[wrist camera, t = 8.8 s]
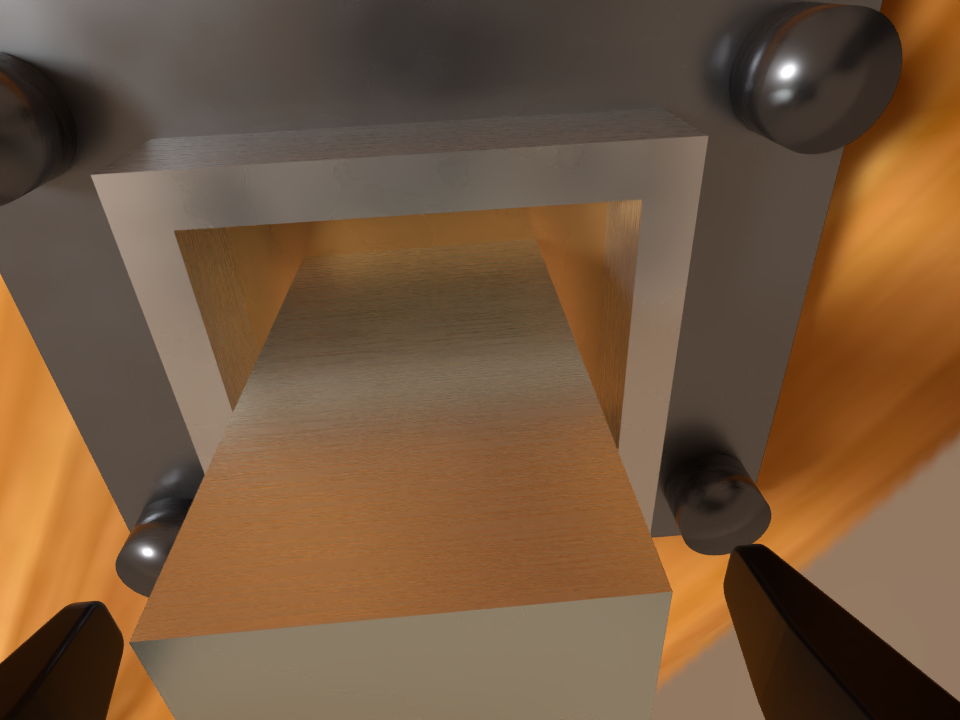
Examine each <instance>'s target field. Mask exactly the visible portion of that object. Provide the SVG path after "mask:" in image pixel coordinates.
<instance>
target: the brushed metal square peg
mask: <svg viewBox="0 0 960 720" xmlns="http://www.w3.org/2000/svg"><path fill="white" fill-rule="evenodd" d="M672 592H673V591H672V589H671V586H670V584H669V581H668V579H667V576H666V573H665V571H664V568H663V566H662V563H661V561H660V558H659V555H658V553H657V550H656V548H655V545H654V542H653V540H652V537H651V535H650V532H649V530H648V527H647V524H646V522H645V519H644V517H643V514H642V512H641V509H640V506H639V504H638V501H637V499H636V496H635V494H634V491H633V488H632V486H631V483H630V481H629V478H628V475H627V473H626V470H625V468H624V465H623V463H622V460H621V457H620V455H619V452H618V450H617V447H616V445H615V442H614V439H613V437H612V434H611V432H610V429H609V427H608V424H607V421H606V419H605V416H604V414H603V411H602V409H601V406H600V403H599V401H598V398H597V396H596V393H595V390H594V388H593V385H592V383H591V380H590V378H589V375H588V372H587V370H586V367H585V365H584V362H583V360H582V357H581V354H580V352H579V349H578V347H577V344H576V342H575V339H574V336H573V334H572V331H571V329H570V326H569V324H568V321H567V318H566V316H565V313H564V311H563V308H562V305H561V303H560V300H559V298H558V295H557V293H556V290H555V287H554V285H553V282H552V280H551V277H550V275H549V272H548V269H547V267H546V264H545V262H544V259H543V257H542V254H541V251H540V249H539V246H538V244H537V241H536V239H526V240H513V241H501V242H488V243H475V244H462V245H449V246H437V247H424V248H411V249H398V250H385V251H373V252H360V253H347V254H334V255H321V256H309V257H303V259H302V262H301V264H300V266H299V268H298V270H297V273H296V275H295V277H294V279H293V281H292V284H291V286H290V288H289V290H288V292H287V295H286V297H285V299H284V301H283V303H282V306H281V308H280V310H279V312H278V314H277V317H276V319H275V321H274V323H273V326H272V328H271V330H270V332H269V334H268V337H267V339H266V341H265V343H264V345H263V348H262V350H261V352H260V354H259V356H258V359H257V361H256V363H255V365H254V367H253V370H252V372H251V374H250V376H249V378H248V381H247V383H246V385H245V387H244V390H243V392H242V394H241V396H240V398H239V401H238V403H237V405H236V407H235V409H234V412H233V414H232V416H231V418H230V420H229V423H228V425H227V427H226V429H225V431H224V434H223V436H222V438H221V440H220V442H219V445H218V447H217V449H216V451H215V454H214V456H213V458H212V460H211V462H210V465H209V467H208V469H207V471H206V473H205V476H204V478H203V480H202V482H201V484H200V487H199V489H198V491H197V493H196V495H195V498H194V500H193V502H192V504H191V506H190V509H189V511H188V513H187V515H186V518H185V520H184V522H183V524H182V526H181V529H180V531H179V533H178V535H177V537H176V540H175V542H174V544H173V546H172V548H171V551H170V553H169V555H168V557H167V559H166V562H165V564H164V566H163V568H162V570H161V573H160V575H159V577H158V579H157V582H156V584H155V586H154V588H153V590H152V593H151V595H150V597H149V599H148V601H147V604H146V606H145V608H144V610H143V612H142V615H141V617H140V619H139V621H138V623H137V626H136V628H135V630H134V632H133V634H132V637H131V639H130V641H129V643H130V645H131V646H132V648H133V650H134V651H135V653H136V655H137V656H138V658H139V660H140V661H141V663H142V665H143V666H144V668H145V670H146V671H147V673H148V675H149V676H150V678H151V680H152V681H153V683H154V685H155V686H156V688H157V690H158V691H159V693H160V695H161V696H162V698H163V700H164V701H165V703H166V705H167V706H168V708H169V710H170V711H171V713H172V715H173V716H174V718H175V720H651V714H652V709H653V703H654V697H655V691H656V686H657V680H658V674H659V668H660V662H661V656H662V650H663V645H664V639H665V633H666V627H667V621H668V615H669V610H670V604H671V598H672Z"/></svg>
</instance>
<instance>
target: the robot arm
mask: <svg viewBox="0 0 960 720" xmlns="http://www.w3.org/2000/svg"><path fill="white" fill-rule="evenodd" d="M723 588H724V595H725V599H726V602H727V606H728V609H729V612H730V615H731V618H732V621H733V625H734V628H735V631H736V634H737V637H738V640H739V644H740V647H741V650H742V653H743V656H744V659H745V662H746V665H747V669H748V672H749V675H750V678H751V681H752V684H753V688H754V690H755V693H756V696H757V699H758V702H759V705H760V707H761V710H762V712H763V715H764V717H765V720H960V702H959V701H958V700H957V699H956V698H954V697H953V696H952V695H951V694H949V693H948V692H947V691H946V690H944V689H943V688H942V687H941V686H939V685H938V684H937V683H936V682H934V681H933V680H932V679H931V678H930V677H928V676H927V675H926V674H925V673H923V672H922V671H921V670H920V669H918V668H917V667H916V666H915V665H913V664H912V663H911V662H910V661H908V660H907V659H906V658H905V657H903V656H902V655H901V654H900V653H898V652H897V651H896V650H895V649H893V648H892V647H891V646H890V645H888V644H887V643H886V642H885V641H884V640H882V639H881V638H880V637H879V636H877V635H876V634H875V633H874V632H872V631H871V630H870V629H869V628H867V627H866V626H865V625H864V624H862V623H861V622H860V621H859V620H857V619H856V618H855V617H853V616H852V615H851V614H850V613H849V612H847V611H846V610H845V609H844V608H842V607H841V606H840V605H839V604H837V603H836V602H835V601H834V600H832V599H831V598H830V597H829V596H828V595H826V594H825V593H824V592H823V591H821V590H820V589H819V588H817V587H816V586H815V585H814V584H813V583H811V582H810V581H809V580H808V579H806V578H805V577H804V576H803V575H801V574H800V573H799V572H798V571H796V570H795V569H794V568H793V567H791V566H790V565H789V564H788V563H786V562H785V561H784V560H783V559H781V558H780V557H779V556H778V555H777V554H775V553H774V552H773V551H772V550H770V549H769V548H768V547H766V546H764V545H761V544H749V545H738V546H735V547H734V548H733V549H732V551H731V554H730V558H729V562H728V566H727V570H726V574H725V578H724V587H723ZM123 648H124V640H123V636H122V633H121V631H120V630H119V628H118V626H117V625H116V623H115V621H114V619H113V618H112V616H111V614H110V613H109V611H108V609H107V607H106V606H105V605H104V604H103V603H102V602H100V601H89V602H78V603H72V604H69V605H67V606H66V607H64V608H63V609H62V610H60V611H59V612H58V613H57V614H56V615H55V616H54V617H52V618H51V619H50V620H49V621H48V622H47V623H46V624H45V625H43V626H42V627H41V628H40V629H39V630H38V631H37V632H35V633H34V634H33V635H32V636H31V637H30V638H29V639H28V640H26V641H25V642H24V643H23V644H22V645H21V646H20V647H19V648H17V649H16V650H15V651H14V652H13V653H12V654H11V655H9V656H8V657H7V658H6V659H5V660H4V661H3V662H2V663H0V720H106V717H107V713H108V709H109V705H110V701H111V697H112V693H113V690H114V686H115V682H116V678H117V674H118V670H119V666H120V662H121V658H122V654H123Z"/></svg>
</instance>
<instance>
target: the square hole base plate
mask: <svg viewBox="0 0 960 720" xmlns="http://www.w3.org/2000/svg"><path fill="white" fill-rule="evenodd" d="M882 1H883V0H0V274H1V276H2V278H3V280H4V282H5V284H6V286H7V287H8V289H9V291H10V293H11V295H12V297H13V299H14V301H15V303H16V305H17V307H18V309H19V311H20V313H21V315H22V317H23V319H24V321H25V323H26V325H27V327H28V329H29V331H30V333H31V335H32V337H33V339H34V341H35V343H36V345H37V347H38V349H39V351H40V353H41V355H42V357H43V359H44V361H45V363H46V365H47V367H48V369H49V371H50V373H51V375H52V377H53V379H54V381H55V383H56V385H57V387H58V389H59V391H60V393H61V395H62V397H63V399H64V401H65V403H66V405H67V407H68V409H69V411H70V413H71V415H72V417H73V419H74V421H75V423H76V425H77V427H78V429H79V431H80V433H81V435H82V437H83V439H84V441H85V443H86V445H87V447H88V449H89V451H90V453H91V455H92V457H93V459H94V461H95V463H96V465H97V467H98V469H99V471H100V473H101V475H102V477H103V479H104V481H105V483H106V485H107V487H108V489H109V491H110V493H111V495H112V497H113V499H114V501H115V503H116V505H117V507H118V509H119V511H120V513H121V515H122V517H123V519H124V521H125V523H126V525H127V527H128V529H129V531H130V535H129V537H128V539H127V540H126V542H125V544H124V546H123V548H122V550H121V551H120V553H119V555H118V557H117V560H116V571H117V574H118V576H119V577H120V579H121V580H122V581H123V583H124V584H126V585H127V586H128V587H129V588H130V589H132V590H133V591H135V592H137V593H139V594H141V595H143V596H146V597H150V595H151V593H152V590H153V588H154V586H155V584H156V582H157V579H158V577H159V575H160V573H161V570H162V568H163V566H164V564H165V562H166V559H167V557H168V555H169V553H170V551H171V548H172V546H173V544H174V542H175V540H176V537H177V535H178V533H179V531H180V529H181V526H182V524H183V522H184V520H185V518H186V515H187V513H188V511H189V509H190V506H191V504H192V502H193V500H194V498H195V495H196V493H197V491H198V489H199V487H200V484H201V482H202V480H203V478H204V476H205V473H206V471H207V469H208V467H209V465H210V462H211V460H212V458H213V456H214V454H215V451H216V449H217V447H218V445H219V442H220V440H221V438H222V436H223V434H224V431H225V429H226V427H227V425H228V423H229V420H230V418H231V416H232V414H233V412H234V409H235V407H236V405H237V403H238V401H239V398H240V396H241V394H242V392H243V390H244V387H245V385H246V383H247V381H248V378H249V376H250V374H251V372H252V370H253V367H254V365H255V363H256V361H257V359H258V356H259V354H260V352H261V350H262V348H263V345H264V343H265V341H266V339H267V337H268V334H269V332H270V330H271V328H272V326H273V323H274V321H275V319H276V317H277V314H278V312H279V310H280V308H281V306H282V303H283V301H284V299H285V297H286V295H287V292H288V290H289V288H290V286H291V284H292V281H293V279H294V277H295V275H296V273H297V270H298V268H299V266H300V264H301V262H302V259H303V257H309V256H321V255H334V254H347V253H360V252H373V251H385V250H398V249H411V248H424V247H437V246H449V245H462V244H475V243H488V242H501V241H513V240H526V239H536V241H537V244H538V246H539V249H540V251H541V254H542V257H543V259H544V262H545V264H546V267H547V269H548V272H549V275H550V277H551V280H552V282H553V285H554V287H555V290H556V293H557V295H558V298H559V300H560V303H561V305H562V308H563V311H564V313H565V316H566V318H567V321H568V324H569V326H570V329H571V331H572V334H573V336H574V339H575V342H576V344H577V347H578V349H579V352H580V354H581V357H582V360H583V362H584V365H585V367H586V370H587V372H588V375H589V378H590V380H591V383H592V385H593V388H594V390H595V393H596V396H597V398H598V401H599V403H600V406H601V409H602V411H603V414H604V416H605V419H606V421H607V424H608V427H609V429H610V432H611V434H612V437H613V439H614V442H615V445H616V447H617V450H618V452H619V455H620V457H621V460H622V463H623V465H624V468H625V470H626V473H627V475H628V478H629V481H630V483H631V486H632V488H633V491H634V494H635V496H636V499H637V501H638V504H639V506H640V509H641V512H642V514H643V517H644V519H645V522H646V524H647V527H648V530H649V532H650V535H651V537H664V536H676V535H682V537H683V539H684V541H685V543H686V544H687V545H688V547H690V548H691V549H692V550H694V551H696V552H698V553H701V554H705V555H724V554H729V553H731V551H732V549H733V548H734V547H735V546H738V545H749V544H752V543H754V542H755V541H756V540H758V539H759V538H760V537H761V536H762V535H763V534H764V532H765V531H766V530H767V528H768V526H769V524H770V521H771V510H770V507H769V505H768V504H767V502H766V500H765V499H764V497H763V496H762V494H761V493H760V491H759V489H758V488H757V486H756V482H757V479H758V475H759V471H760V467H761V463H762V459H763V456H764V452H765V448H766V444H767V440H768V436H769V433H770V429H771V425H772V421H773V417H774V414H775V410H776V406H777V402H778V398H779V394H780V391H781V387H782V383H783V379H784V375H785V372H786V368H787V364H788V360H789V356H790V352H791V349H792V345H793V341H794V337H795V333H796V329H797V326H798V322H799V318H800V314H801V310H802V307H803V303H804V299H805V295H806V291H807V287H808V284H809V280H810V276H811V272H812V268H813V265H814V261H815V257H816V253H817V249H818V245H819V242H820V238H821V234H822V230H823V226H824V222H825V219H826V215H827V211H828V207H829V203H830V200H831V196H832V192H833V188H834V184H835V180H836V177H837V173H838V169H839V165H840V161H841V157H842V154H843V150H844V146H845V145H847V144H849V143H851V142H852V141H854V140H855V139H857V138H858V137H859V136H861V135H862V134H863V133H864V132H866V131H867V130H868V129H869V128H870V127H871V126H872V125H873V124H874V123H875V122H876V120H877V119H878V118H879V117H880V116H881V114H882V113H883V111H884V110H885V109H886V107H887V105H888V104H889V102H890V100H891V98H892V96H893V94H894V92H895V90H896V87H897V84H898V81H899V77H900V73H901V67H902V48H901V42H900V39H899V35H898V33H897V31H896V29H895V27H894V25H893V24H892V23H891V21H890V20H889V19H888V18H887V17H886V16H884V15H883V14H882V13H880V8H881V5H882Z"/></svg>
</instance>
